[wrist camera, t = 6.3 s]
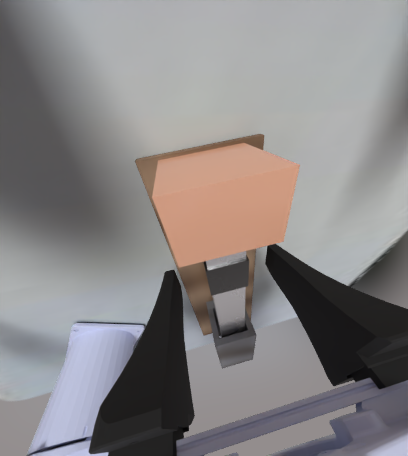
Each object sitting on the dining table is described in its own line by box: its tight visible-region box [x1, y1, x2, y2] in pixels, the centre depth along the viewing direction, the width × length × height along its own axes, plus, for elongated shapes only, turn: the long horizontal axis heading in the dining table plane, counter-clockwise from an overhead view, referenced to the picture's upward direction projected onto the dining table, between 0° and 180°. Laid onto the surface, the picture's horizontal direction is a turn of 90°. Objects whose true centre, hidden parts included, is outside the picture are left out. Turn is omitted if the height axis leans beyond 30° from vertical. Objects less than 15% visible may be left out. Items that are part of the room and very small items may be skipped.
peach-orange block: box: [152, 143, 300, 268], centre depth 9 cm, size 4×5×5 cm
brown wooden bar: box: [135, 134, 264, 368], centre depth 16 cm, size 28×8×5 cm, turn 9°
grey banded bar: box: [203, 251, 249, 338], centre depth 14 cm, size 19×3×3 cm, turn 9°
